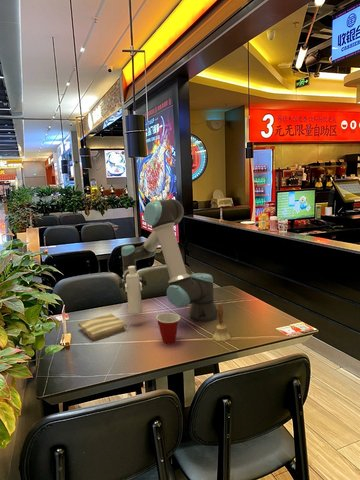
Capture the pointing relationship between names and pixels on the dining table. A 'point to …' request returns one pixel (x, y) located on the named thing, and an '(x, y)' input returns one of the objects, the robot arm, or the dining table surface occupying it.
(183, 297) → the robot arm
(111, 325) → the stand
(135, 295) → the spray bottle
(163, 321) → the plastic cup
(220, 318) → the hand bell
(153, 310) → the dining table surface
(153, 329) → the dining table surface
